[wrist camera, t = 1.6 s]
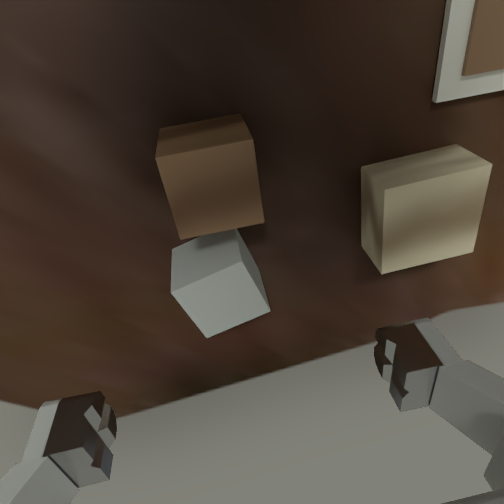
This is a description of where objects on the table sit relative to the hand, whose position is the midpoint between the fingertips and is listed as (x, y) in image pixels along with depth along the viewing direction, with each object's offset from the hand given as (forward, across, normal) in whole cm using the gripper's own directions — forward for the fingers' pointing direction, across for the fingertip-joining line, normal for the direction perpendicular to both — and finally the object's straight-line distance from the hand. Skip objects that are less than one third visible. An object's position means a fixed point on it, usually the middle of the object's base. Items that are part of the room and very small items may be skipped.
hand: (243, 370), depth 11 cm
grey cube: (+17, +1, +8) cm, 18 cm away
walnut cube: (+16, 0, 0) cm, 17 cm away
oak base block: (+17, -14, +6) cm, 23 cm away
